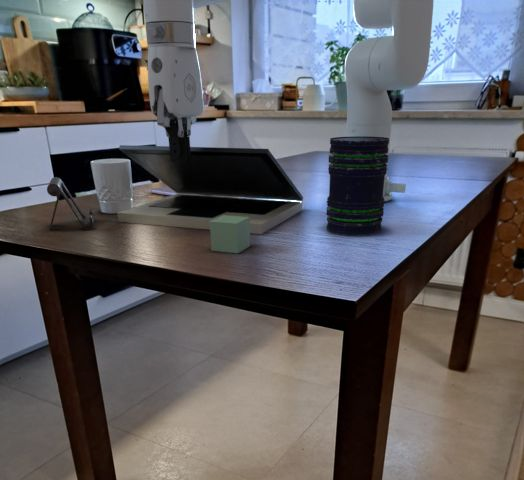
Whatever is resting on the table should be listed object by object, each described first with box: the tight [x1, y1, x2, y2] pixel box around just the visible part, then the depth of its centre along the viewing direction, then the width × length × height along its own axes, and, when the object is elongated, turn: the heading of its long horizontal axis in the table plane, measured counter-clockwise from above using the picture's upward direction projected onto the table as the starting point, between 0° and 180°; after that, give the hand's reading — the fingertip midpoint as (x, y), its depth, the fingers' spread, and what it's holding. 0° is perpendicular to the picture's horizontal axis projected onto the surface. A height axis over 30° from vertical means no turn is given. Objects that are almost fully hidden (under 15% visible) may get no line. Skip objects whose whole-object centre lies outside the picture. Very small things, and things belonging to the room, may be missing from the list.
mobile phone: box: [148, 185, 198, 197], centre depth 127 cm, size 8×1×15 cm
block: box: [209, 215, 251, 254], centre depth 80 cm, size 5×5×5 cm
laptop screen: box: [118, 144, 304, 202], centre depth 101 cm, size 22×30×1 cm
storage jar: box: [326, 136, 389, 237], centre depth 88 cm, size 10×10×15 cm
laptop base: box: [116, 194, 303, 235], centre depth 103 cm, size 22×30×2 cm
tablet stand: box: [46, 176, 94, 231], centre depth 95 cm, size 9×8×8 cm
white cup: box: [90, 158, 134, 215], centre depth 107 cm, size 8×8×10 cm
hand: (180, 161), depth 89 cm, fingers closed
